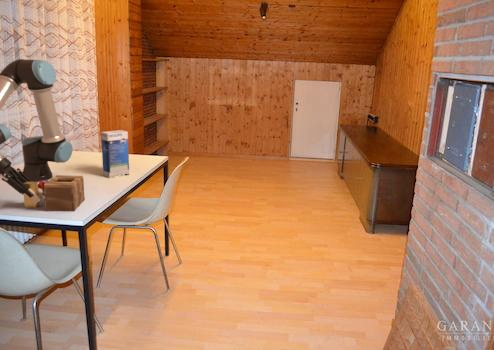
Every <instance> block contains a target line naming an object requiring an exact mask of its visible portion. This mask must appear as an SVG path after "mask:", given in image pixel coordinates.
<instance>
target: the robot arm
mask: <svg viewBox="0 0 494 350" xmlns="http://www.w3.org/2000/svg"><path fill="white" fill-rule="evenodd" d="M56 73H57V72H56V69H55V68H54V66H53V65H52V63H50V62H49V61H48V60H41V59H22V58H21V59H20V58H19V59H15V60H13V61H11V62H10V63H9V64H7V65H6V66H5V67H3V69H2V70H1V71H0V111H1V110H2V108H3V107H4V105H5V104H6V102H7V100H8V99H9V97H10V96H11V94H12V92H13V91H14V90H17V89H18V88H19V86H20V85H22V84H26V87H27V90H28V91H30V92H32V96H33V100H34V104H35V108H36V112H37V116H38V119H39V124H40V127H41V131H42V135H39V136H38V135H37V136H30V137H26V138H25V137H24V138H23V139H22V142H21V143H22V148H21V149H22V154H23V155H22V156H23V164H24V166H23V170H21V169H20V168H19V167H17V168H14V167H13V166H12V162H11V161H10V160H9V159H8V158H7V157H5V155H4V154H2V153H1V152H0V175H2V178H1V181H3V182H5V183H7V184H8V185H9V186H10V187H11V188H12V189H14V190H15V191H17V192H18V193H19V194H21V195H22V196H24V193H25V194H26V195H27V196H28V197H30V198H31V199H32V200H33V201H34V202H35V203H38V202H40V201H41V200H43V199H44V198H45V195H44V193H43V194H42V193H41V192H40V191H39V190H38V191H39V196H37V195H36V194H35V193H34V192H33V191H32V190H30V189H29V190H28V188H27V187H26V186H25V185H24V184H23V183H25V182H39V181H44V182H45V181H46V180H48V181H49V180H51V179H52V178H53V172H52V170H51V168H50V166H49V162H50V163H51V162H52V163H56V164H57V163H61V164H64V163H67V162H68V161H69V160H70V159H71V157H72V155H73V145H72V143H71V142H69V141H67V140H66V136H65V135H64V134H62V132H61V128H60V123H59V119H58V115H57V110H56V107H55V103H54V99H53V98H54V97H53V94H52V89H53V88H54V83H55V82H56V78H57V74H56ZM11 137H12V132H11V130H10V128H9V127H8V126H7V125H5V124H1V123H0V145H2V144H4V143H7V141H8V140H10V138H11Z"/></svg>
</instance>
